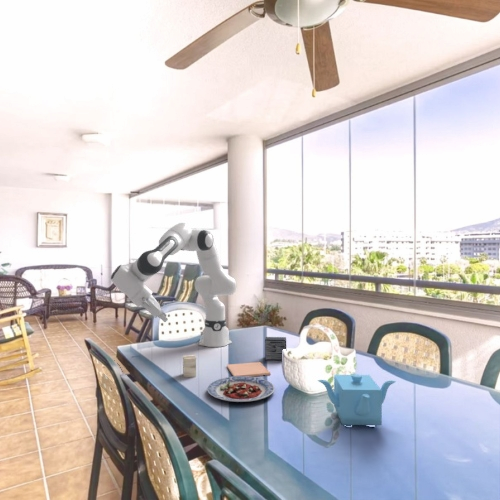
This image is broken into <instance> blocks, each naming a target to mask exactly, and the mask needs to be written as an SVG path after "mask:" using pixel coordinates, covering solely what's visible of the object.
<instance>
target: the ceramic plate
mask: <svg viewBox="0 0 500 500" xmlns="http://www.w3.org/2000/svg"><path fill="white" fill-rule="evenodd" d="M275 390H276V389H275V385H274V384H273V383H272V381H271V382H270V381H269V380H266V379H263V378H261V377H258V376H254V377H249V376H234V377H233V376H227V377H223V378H219V379H216V380H214V381H212V382H211V383H209V385H208V386H207V393H208V394H210V396H212V397H213V398H215V399H219V400H222V401H226V402H236V403H239V402H240V403H243V402H246V403H247V402H253V401H254V402H255V401H259V400H260V401H261V400H262V399H266V398H268V397H270V396H271V395H272V394H274V392H275Z"/></svg>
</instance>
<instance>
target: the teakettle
mask: <svg viewBox="0 0 500 500" xmlns="http://www.w3.org/2000/svg"><path fill="white" fill-rule="evenodd" d="M317 382H319V383H320V384H322V385H324V387H325V388H326V392H327V395H328V398H329V401H330V402H331V403H332V404H333V407H334V409H335V411H336V414H337V415H338V418H339V420H340V422H341V425H342V426H343V425H346V426H351V425H353V426H366V425H375V426H382V413H383V412H382V407H383V405H382V404H384V402H385V400H386V396H387V393H388V389H389V388H390V386H391V385H393V384H395V383H396V382H397V381H396V380H386V381H384V382H383V384H382V385H381V387H380V386H379V385H378V384H377V383H376V381H375V380H374V379H373V378H372V377H371V376H370V374H357V373H355V374H334V375H333V387H332V384H331V383H330V382H329V381H328V380H325V379H318V380H317Z"/></svg>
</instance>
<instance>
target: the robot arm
mask: <svg viewBox="0 0 500 500" xmlns="http://www.w3.org/2000/svg"><path fill="white" fill-rule="evenodd" d="M179 251H187V252H196V257H197V259H198V264H199V267H200V270H201V271H202V272H203V274H204V275H201V276H198V277H197V278H196V280H195V281H194V289H195V291H196V292H197V293H198V294H199V295H200V297H201V298H202V300H203V303H204V309H205V319H204V328H203V330H202V331H200V336H201V337H200V339H199V342H198V346H205V347H207V348H208V347H209V348H220V347H225V346H227V345H230V344H233V342H232V340H231V339H230V334H229V333H230V332H229V328H228V327H227V326H226V325H227V319H226V306H225V304H224V302H222V301H220V298H219V297H218V296H222V297H223V296H225V297H226V296H231V295H234V293H235V292H236V291H237V288H238V287H237V286H238V285H237V282H236V279H235V278H233V277H232V276H231V275H229V274H228V273H227V272H226V270H225V269H224V268H223V266H222V264H221V260H220V258H219V254H218V251H217V247H216V245H215V242H214V236H213V234H212V233H211V231H209V230H206V229H202V230H201V229H192V228H191V226H190V225H188V223H185V222H179V223H177V224H175V225H173V226H172V227H170V228H169V229H167V231H165V233H163V235H161V237H160V238H159V239H158V245H157V246H156V247H155V248H154V249H150V250H146V251H144V252H142V254H140V256H139V257H138V258H137V259H136V260H135V261H134V262H131V263H129V264H120V265H118V266H117V267H116V268H115V270H114V271H113V272H112V273H111V275H110V280H111V282H112V284H113V285H114V286H115V287H116V288H117V289H118V290H119V291H120V292H121V293H122V294H124V295H125V296H127V297H128V300H130V301H131V302H132V303H133V304H134V305H135V307H138V308H140V307H141V308H144V309H146V311H148V313H149V314H150V315H151V316H152V317H154V318H159V319H160V320H162V321H163V322H164V323H166V322H168V317H167V314H166V313H165V312H164V311H163V310H162V309H161V308H162V307H161V304H160V303H159V301H158V300H156V298H155V297H154V295H152V294H153V293H154V292H153V290H152V289H150V288H149V287H148V286H147V285H146V284H145V282H147V281H148V280H149V279H150V278H152V277H153V276H154V275H156V274H157V273H159V272H161V270H162V268H163V265H164V262H165V260H166V259H167V258H168V257H169V256H174V255H175V254H176V253H178V252H179ZM205 274H206V275H205Z"/></svg>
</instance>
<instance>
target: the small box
mask: <svg viewBox="0 0 500 500" xmlns="http://www.w3.org/2000/svg"><path fill="white" fill-rule="evenodd" d="M264 342H265V343H264V355H265V357H264V360H265V361H266V360H267V362H268V361H273V362H275V361H278V362H282V361H281V360H282V350H283V349H286V350H287V337H286V336H285V337H284V336H283V337H282V336H265V338H264Z"/></svg>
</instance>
